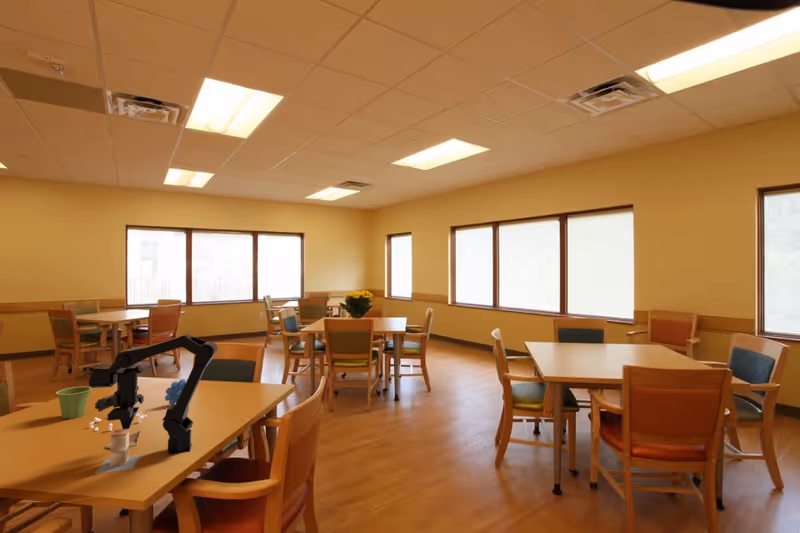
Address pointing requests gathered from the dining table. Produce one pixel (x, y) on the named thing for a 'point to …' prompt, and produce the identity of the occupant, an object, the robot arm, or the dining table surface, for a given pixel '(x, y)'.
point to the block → (119, 447)
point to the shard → (130, 440)
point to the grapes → (175, 391)
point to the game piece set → (111, 424)
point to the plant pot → (73, 401)
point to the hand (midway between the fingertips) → (126, 431)
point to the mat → (107, 468)
